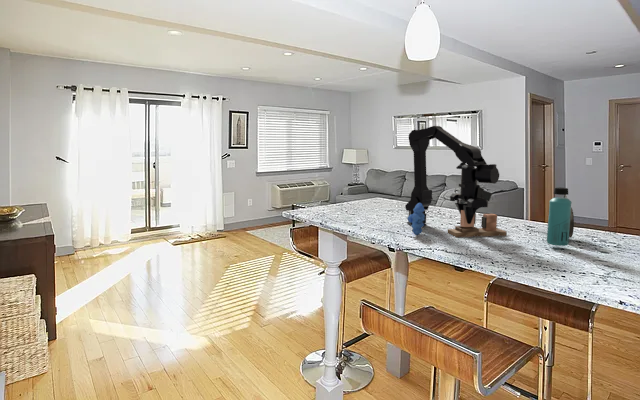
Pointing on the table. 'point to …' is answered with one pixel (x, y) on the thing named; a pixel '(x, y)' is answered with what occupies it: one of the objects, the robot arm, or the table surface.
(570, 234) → the alarm clock
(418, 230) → the grapes
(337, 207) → the table surface
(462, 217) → the salmon and grey block
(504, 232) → the rail
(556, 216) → the beverage bottle
